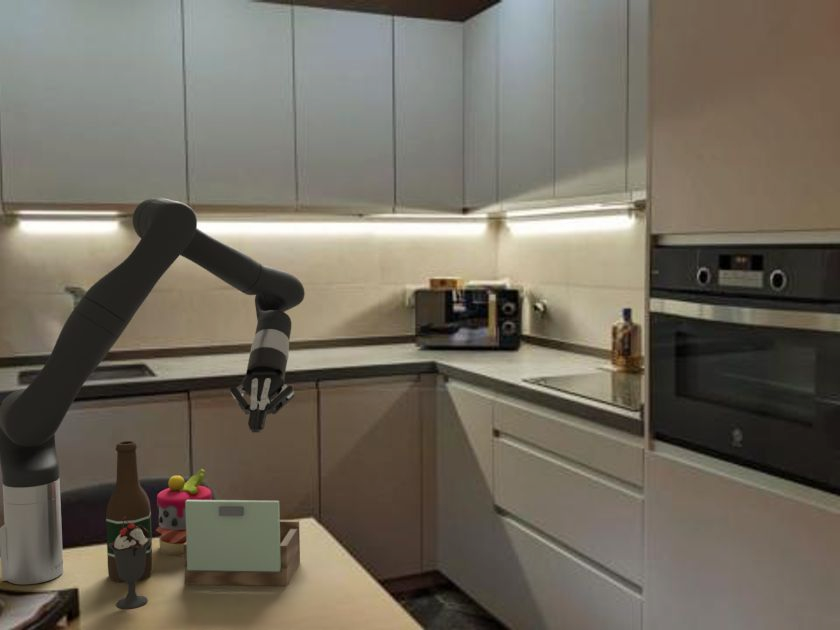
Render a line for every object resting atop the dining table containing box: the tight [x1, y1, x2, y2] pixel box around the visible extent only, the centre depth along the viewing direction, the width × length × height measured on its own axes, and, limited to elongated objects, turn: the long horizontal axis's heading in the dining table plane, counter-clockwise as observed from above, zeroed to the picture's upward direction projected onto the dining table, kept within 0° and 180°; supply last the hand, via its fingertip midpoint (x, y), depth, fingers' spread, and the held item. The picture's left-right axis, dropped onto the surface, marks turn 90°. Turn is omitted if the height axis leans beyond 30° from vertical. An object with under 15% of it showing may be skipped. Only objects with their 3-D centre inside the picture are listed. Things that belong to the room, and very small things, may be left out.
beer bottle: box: [105, 440, 153, 584], centre depth 155 cm, size 8×8×24 cm
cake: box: [155, 468, 213, 557], centre depth 170 cm, size 10×11×15 cm
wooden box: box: [183, 519, 301, 587], centre depth 156 cm, size 18×11×8 cm, turn 87°
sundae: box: [109, 517, 151, 610], centre depth 143 cm, size 7×7×15 cm
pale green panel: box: [185, 499, 281, 573], centre depth 149 cm, size 16×2×12 cm, turn 87°
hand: (255, 430), depth 165 cm, fingers closed
